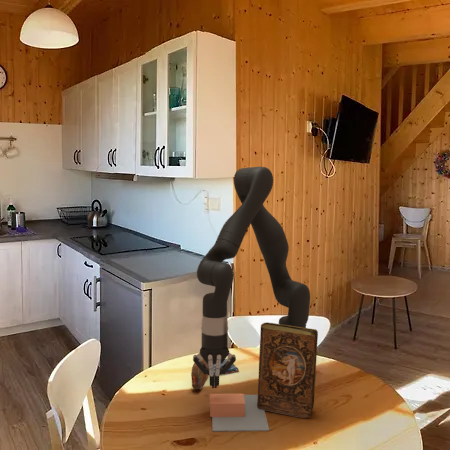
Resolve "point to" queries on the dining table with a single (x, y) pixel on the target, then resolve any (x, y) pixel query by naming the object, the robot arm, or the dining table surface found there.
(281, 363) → the book
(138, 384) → the dining table surface
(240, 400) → the terracotta block
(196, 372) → the tin
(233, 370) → the woven mat
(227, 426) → the slate pad
